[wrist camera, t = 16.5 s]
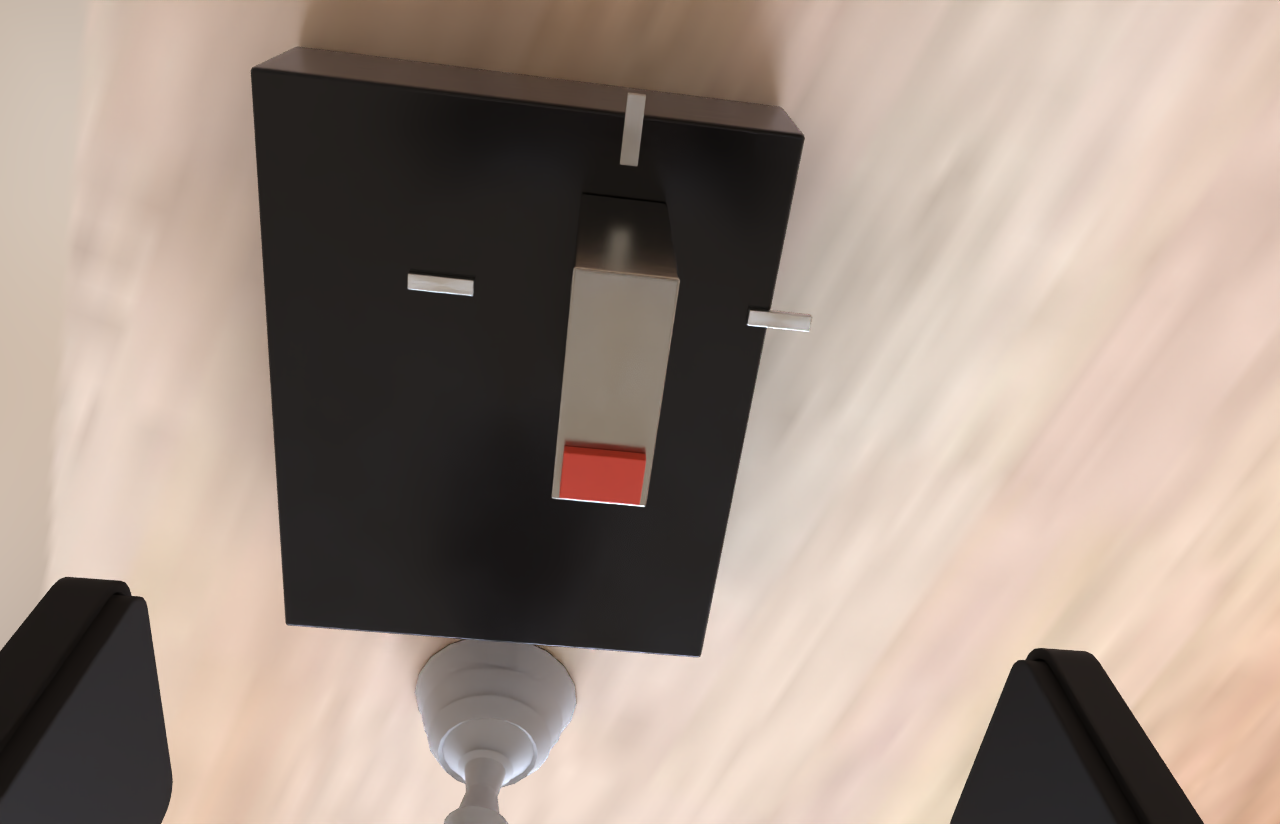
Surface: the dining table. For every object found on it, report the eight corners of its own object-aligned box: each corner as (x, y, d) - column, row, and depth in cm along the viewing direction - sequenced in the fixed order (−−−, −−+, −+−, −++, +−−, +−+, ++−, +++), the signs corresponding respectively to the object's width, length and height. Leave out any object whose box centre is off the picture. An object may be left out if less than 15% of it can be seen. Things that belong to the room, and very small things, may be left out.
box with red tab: (580, 192, 20) (571, 272, 16) (667, 203, 20) (681, 284, 16) (562, 390, 22) (549, 507, 18) (640, 398, 22) (646, 514, 18)
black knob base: (293, 26, 21) (244, 46, 18) (825, 93, 22) (856, 121, 19) (316, 556, 28) (282, 630, 25) (722, 591, 29) (734, 665, 26)
